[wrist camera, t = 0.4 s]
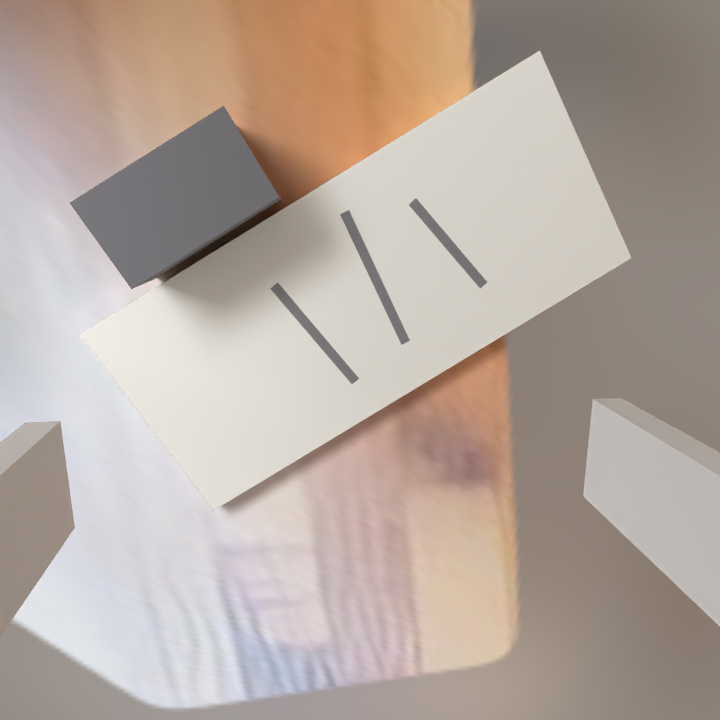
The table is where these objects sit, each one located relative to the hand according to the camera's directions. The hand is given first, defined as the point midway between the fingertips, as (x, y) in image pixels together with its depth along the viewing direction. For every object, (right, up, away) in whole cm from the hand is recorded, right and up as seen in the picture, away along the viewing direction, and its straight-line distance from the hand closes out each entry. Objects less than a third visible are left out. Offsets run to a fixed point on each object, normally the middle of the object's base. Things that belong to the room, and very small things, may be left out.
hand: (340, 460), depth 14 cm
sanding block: (-10, +12, +21) cm, 26 cm away
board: (+1, +7, +23) cm, 24 cm away
